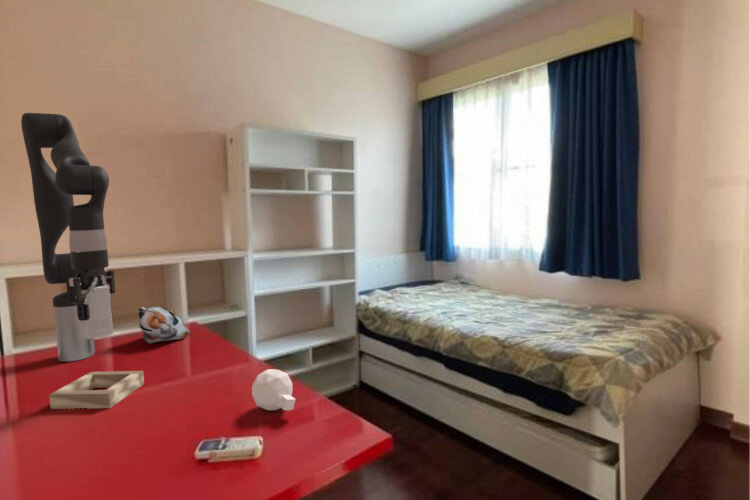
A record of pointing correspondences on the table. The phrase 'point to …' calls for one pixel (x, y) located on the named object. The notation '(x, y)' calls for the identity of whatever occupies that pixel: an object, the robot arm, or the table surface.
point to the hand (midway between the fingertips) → (95, 316)
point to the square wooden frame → (85, 397)
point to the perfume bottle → (273, 390)
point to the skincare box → (97, 314)
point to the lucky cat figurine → (161, 325)
